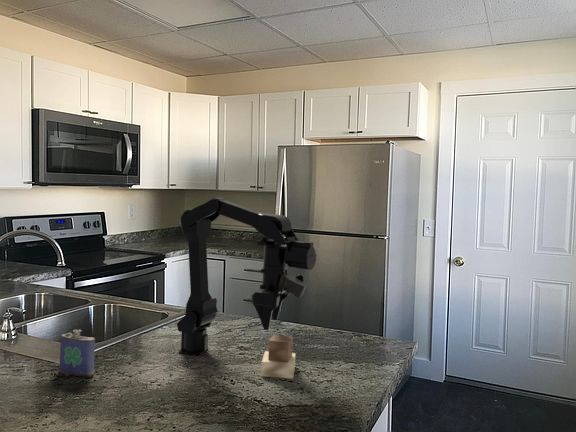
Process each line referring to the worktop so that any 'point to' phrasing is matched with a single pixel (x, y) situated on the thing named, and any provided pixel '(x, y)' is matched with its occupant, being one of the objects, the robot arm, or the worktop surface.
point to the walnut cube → (280, 348)
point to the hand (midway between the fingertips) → (270, 324)
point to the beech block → (277, 367)
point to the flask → (77, 354)
